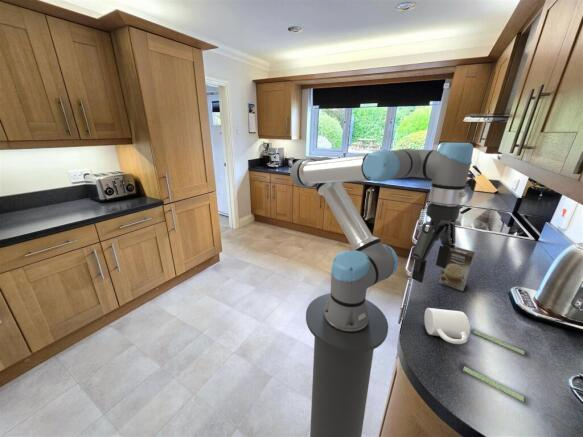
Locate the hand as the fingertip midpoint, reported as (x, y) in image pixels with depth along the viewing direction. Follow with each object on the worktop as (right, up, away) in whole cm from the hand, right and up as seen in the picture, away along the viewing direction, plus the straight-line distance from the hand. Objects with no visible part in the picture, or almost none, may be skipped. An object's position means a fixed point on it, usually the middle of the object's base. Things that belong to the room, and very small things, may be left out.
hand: (429, 273), depth 71 cm
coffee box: (+29, -12, +33) cm, 45 cm away
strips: (+17, -24, -3) cm, 29 cm away
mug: (+8, -22, +5) cm, 23 cm away
